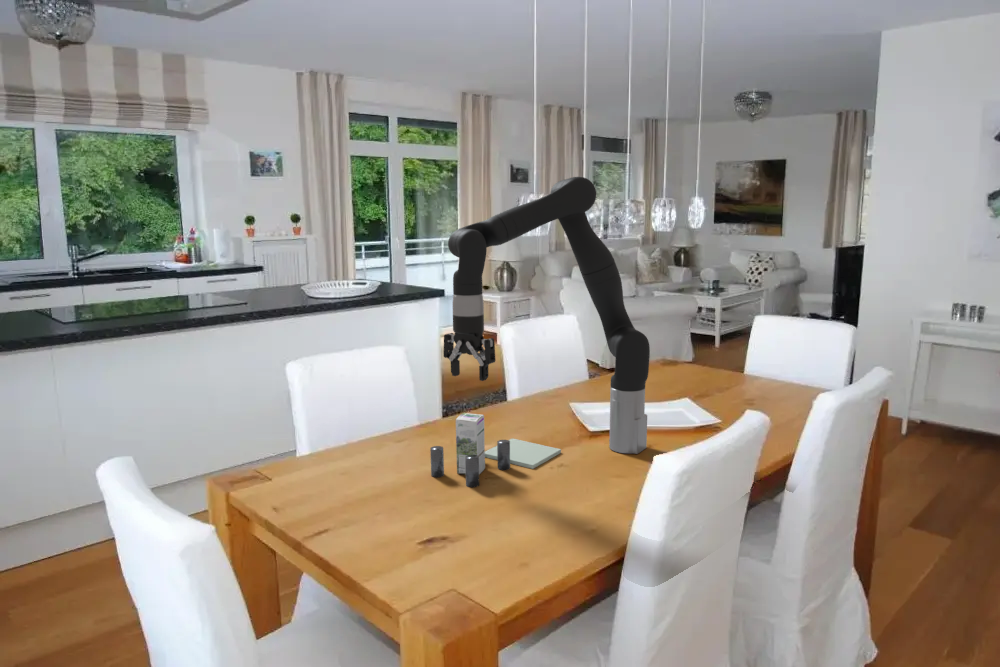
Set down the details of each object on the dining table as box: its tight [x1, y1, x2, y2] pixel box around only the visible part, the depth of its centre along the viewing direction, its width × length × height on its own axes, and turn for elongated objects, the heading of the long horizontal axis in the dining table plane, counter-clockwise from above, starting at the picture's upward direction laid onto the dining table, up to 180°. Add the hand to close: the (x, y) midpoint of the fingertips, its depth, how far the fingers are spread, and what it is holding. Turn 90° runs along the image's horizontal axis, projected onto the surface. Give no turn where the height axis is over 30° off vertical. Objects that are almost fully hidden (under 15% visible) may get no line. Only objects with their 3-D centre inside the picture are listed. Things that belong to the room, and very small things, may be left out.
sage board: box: [485, 438, 562, 470], centre depth 188 cm, size 16×14×1 cm
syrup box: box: [455, 412, 486, 476], centre depth 175 cm, size 6×6×14 cm
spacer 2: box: [465, 455, 480, 488], centre depth 168 cm, size 3×3×7 cm
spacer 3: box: [496, 439, 511, 471], centre depth 178 cm, size 3×3×7 cm
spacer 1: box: [429, 445, 445, 478], centre depth 174 cm, size 3×3×7 cm
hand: (469, 377), depth 172 cm, fingers open, 8 cm apart
